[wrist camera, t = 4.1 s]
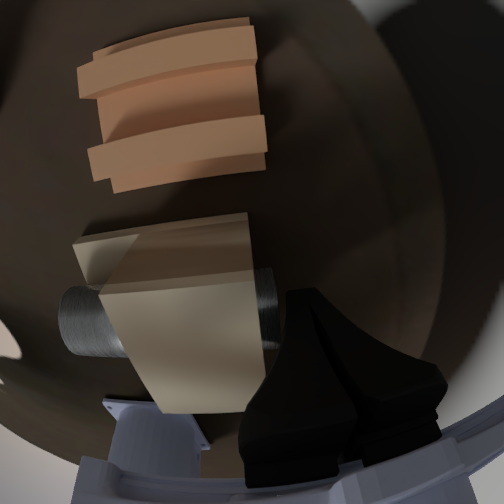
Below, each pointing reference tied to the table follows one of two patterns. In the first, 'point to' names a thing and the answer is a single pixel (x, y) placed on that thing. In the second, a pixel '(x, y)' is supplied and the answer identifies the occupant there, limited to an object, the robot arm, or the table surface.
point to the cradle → (177, 105)
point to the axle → (106, 340)
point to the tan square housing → (183, 309)
